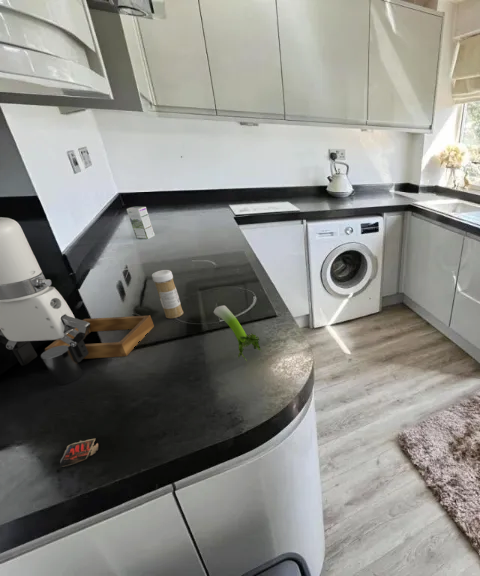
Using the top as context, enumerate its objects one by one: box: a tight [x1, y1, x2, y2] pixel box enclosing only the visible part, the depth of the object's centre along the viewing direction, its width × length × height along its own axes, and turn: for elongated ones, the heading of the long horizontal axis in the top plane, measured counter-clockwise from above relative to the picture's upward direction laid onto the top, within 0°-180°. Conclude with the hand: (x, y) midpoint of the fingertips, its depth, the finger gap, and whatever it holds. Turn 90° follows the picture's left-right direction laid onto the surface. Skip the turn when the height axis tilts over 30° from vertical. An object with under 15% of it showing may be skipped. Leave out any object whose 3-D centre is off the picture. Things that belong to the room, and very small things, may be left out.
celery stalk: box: [213, 305, 263, 362], centre depth 83 cm, size 6×7×30 cm
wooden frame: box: [44, 315, 155, 360], centre depth 80 cm, size 16×13×4 cm
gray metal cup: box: [40, 345, 84, 386], centre depth 68 cm, size 4×4×7 cm
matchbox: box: [59, 437, 99, 468], centre depth 54 cm, size 5×5×1 cm
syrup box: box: [126, 206, 156, 240], centre depth 154 cm, size 6×6×14 cm
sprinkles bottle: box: [151, 269, 184, 320], centre depth 90 cm, size 5×5×14 cm
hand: (56, 359), depth 67 cm, fingers open, 9 cm apart
